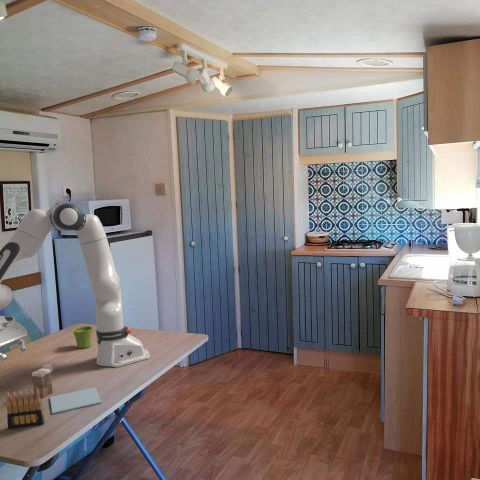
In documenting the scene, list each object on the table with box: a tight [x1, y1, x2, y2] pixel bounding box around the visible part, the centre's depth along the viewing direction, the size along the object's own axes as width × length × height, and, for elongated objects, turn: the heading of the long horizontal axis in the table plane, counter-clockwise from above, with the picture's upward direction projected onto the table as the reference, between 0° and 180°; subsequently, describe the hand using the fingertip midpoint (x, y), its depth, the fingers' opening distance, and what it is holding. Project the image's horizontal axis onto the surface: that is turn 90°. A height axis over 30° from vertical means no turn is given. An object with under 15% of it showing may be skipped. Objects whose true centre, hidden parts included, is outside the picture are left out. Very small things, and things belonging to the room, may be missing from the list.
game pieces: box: [42, 363, 54, 373], centre depth 200 cm, size 12×3×3 cm, turn 4°
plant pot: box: [72, 325, 94, 349], centre depth 233 cm, size 9×9×9 cm
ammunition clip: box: [5, 388, 45, 430], centre depth 157 cm, size 11×2×12 cm, turn 100°
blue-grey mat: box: [49, 386, 102, 415], centre depth 174 cm, size 16×14×1 cm
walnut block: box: [31, 368, 53, 399], centre depth 181 cm, size 4×4×9 cm
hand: (14, 354), depth 184 cm, fingers open, 8 cm apart
